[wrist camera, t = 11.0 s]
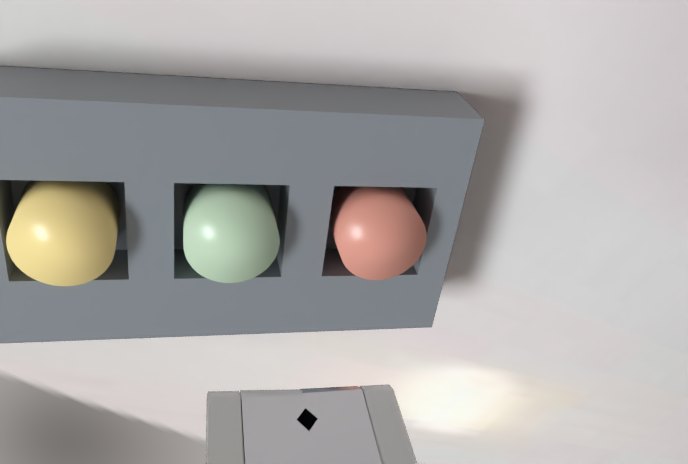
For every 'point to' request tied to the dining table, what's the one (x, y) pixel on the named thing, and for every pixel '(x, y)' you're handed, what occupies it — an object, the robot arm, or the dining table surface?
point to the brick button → (376, 231)
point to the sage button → (229, 231)
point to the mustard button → (64, 231)
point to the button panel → (228, 168)
